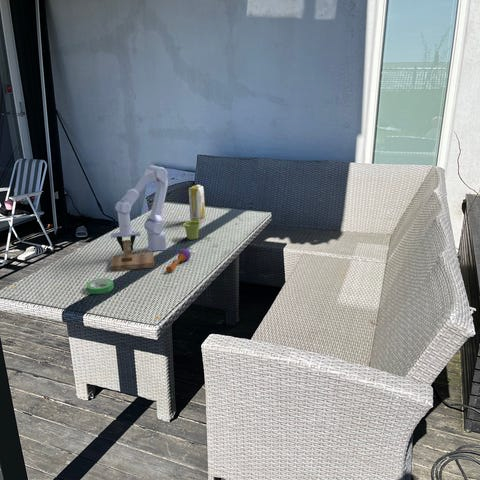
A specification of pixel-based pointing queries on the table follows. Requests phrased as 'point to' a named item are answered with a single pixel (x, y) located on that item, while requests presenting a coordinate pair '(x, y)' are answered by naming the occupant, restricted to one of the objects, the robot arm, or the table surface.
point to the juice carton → (197, 203)
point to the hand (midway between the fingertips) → (127, 250)
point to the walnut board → (132, 261)
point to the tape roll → (100, 290)
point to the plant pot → (192, 229)
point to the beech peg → (127, 247)
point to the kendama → (179, 259)
